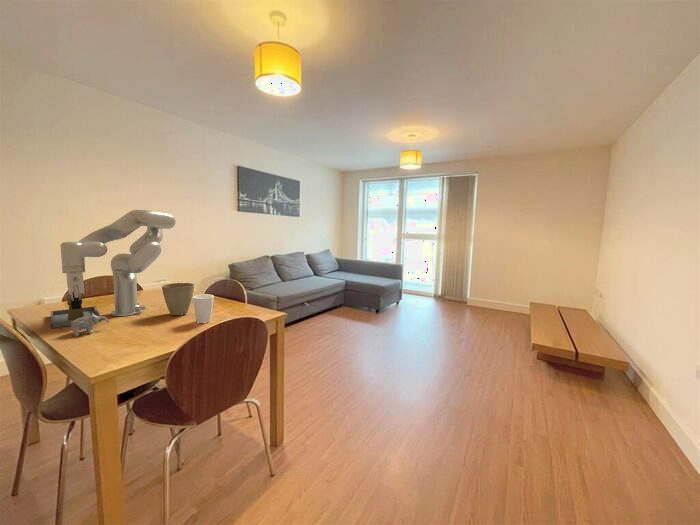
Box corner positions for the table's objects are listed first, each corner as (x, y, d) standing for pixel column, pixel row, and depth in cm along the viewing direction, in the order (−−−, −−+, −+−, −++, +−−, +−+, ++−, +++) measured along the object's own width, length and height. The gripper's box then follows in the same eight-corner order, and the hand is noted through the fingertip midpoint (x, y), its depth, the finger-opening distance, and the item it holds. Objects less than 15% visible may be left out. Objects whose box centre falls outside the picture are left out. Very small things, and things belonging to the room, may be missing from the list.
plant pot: (199, 310, 162) (199, 283, 160) (185, 318, 147) (185, 288, 146) (172, 309, 162) (172, 282, 160) (155, 317, 147) (155, 287, 145)
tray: (100, 321, 137) (100, 316, 137) (50, 328, 126) (50, 323, 125) (95, 310, 154) (95, 306, 153) (51, 316, 142) (50, 311, 141)
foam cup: (217, 320, 147) (217, 296, 145) (201, 325, 138) (201, 299, 137) (205, 317, 150) (204, 293, 149) (188, 322, 142) (188, 296, 141)
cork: (74, 319, 138) (73, 296, 137) (88, 319, 139) (87, 296, 138) (63, 322, 132) (61, 299, 131) (77, 323, 133) (76, 299, 132)
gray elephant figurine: (66, 334, 121) (64, 317, 120) (100, 325, 132) (99, 309, 130) (78, 339, 117) (76, 321, 116) (112, 329, 128) (110, 312, 127)
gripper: (86, 270, 127) (89, 310, 129) (83, 266, 137) (85, 303, 139) (63, 272, 122) (66, 313, 124) (61, 267, 132) (64, 306, 134)
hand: (76, 308), depth 132 cm, fingers closed
